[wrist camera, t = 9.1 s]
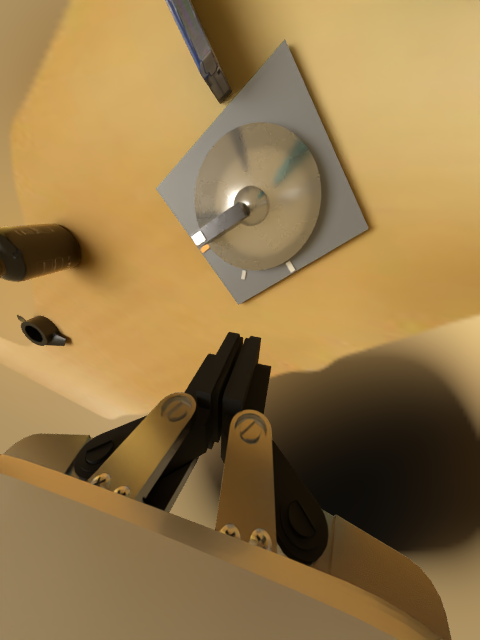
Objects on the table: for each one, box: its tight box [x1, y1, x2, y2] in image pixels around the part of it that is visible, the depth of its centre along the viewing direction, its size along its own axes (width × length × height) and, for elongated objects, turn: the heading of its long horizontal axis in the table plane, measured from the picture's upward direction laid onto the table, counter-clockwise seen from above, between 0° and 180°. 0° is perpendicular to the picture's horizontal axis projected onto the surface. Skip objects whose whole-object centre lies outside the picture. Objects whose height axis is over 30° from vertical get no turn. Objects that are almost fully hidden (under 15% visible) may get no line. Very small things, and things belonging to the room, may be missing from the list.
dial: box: [191, 122, 321, 270], centre depth 21 cm, size 14×14×5 cm
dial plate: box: [156, 40, 369, 305], centre depth 24 cm, size 18×18×1 cm
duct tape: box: [17, 315, 66, 346], centre depth 43 cm, size 8×10×3 cm
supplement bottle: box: [0, 224, 81, 282], centre depth 28 cm, size 7×7×12 cm
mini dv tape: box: [165, 0, 232, 103], centre depth 17 cm, size 8×2×6 cm, turn 31°
